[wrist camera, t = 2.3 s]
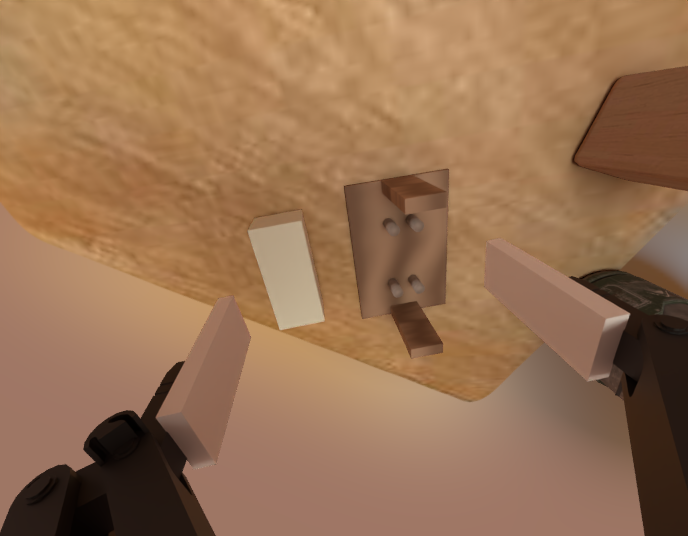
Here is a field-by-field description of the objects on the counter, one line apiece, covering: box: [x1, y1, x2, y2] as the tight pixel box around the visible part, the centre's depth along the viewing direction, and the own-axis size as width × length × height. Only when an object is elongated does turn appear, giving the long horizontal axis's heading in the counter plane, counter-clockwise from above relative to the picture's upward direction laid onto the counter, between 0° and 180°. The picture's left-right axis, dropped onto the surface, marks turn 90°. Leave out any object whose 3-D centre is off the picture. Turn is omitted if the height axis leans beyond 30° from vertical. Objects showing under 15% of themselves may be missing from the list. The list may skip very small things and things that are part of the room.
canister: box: [582, 271, 688, 400], centre depth 37 cm, size 16×16×28 cm
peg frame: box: [344, 169, 449, 359], centre depth 36 cm, size 13×20×10 cm, turn 8°
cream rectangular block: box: [247, 209, 325, 330], centre depth 37 cm, size 6×14×5 cm, turn 9°
